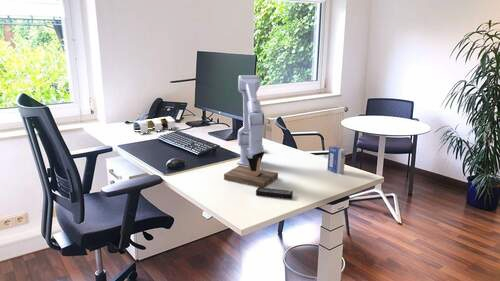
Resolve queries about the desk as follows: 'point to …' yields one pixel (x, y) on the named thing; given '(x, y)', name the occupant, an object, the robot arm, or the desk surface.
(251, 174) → the pin
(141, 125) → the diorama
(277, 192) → the multiport hub
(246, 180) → the pin plate
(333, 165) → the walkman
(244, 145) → the robot arm
